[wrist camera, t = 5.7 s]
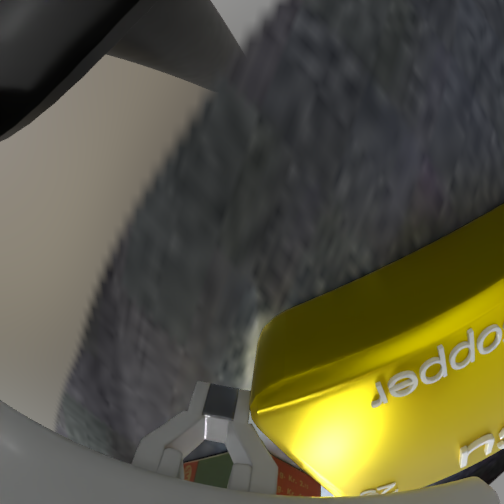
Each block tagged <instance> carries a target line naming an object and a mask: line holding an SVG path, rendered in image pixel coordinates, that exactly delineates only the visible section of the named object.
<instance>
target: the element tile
mask: <svg viewBox="0 0 504 504" xmlns="http://www.w3.org/2000/svg"><path fill="white" fill-rule="evenodd" d="M249 406H250V411H251V416H252V420H253V421H254V423H255V424H256V426H257V427H258V428H259V429H260V430H261V431H262V432H263V433H264V434H265V435H266V436H267V437H268V438H269V439H270V440H271V441H272V442H273V443H274V444H275V445H276V446H277V447H278V448H279V449H280V450H282V451H283V452H284V453H285V454H286V455H287V456H288V457H289V458H290V459H291V460H292V461H294V462H295V463H296V464H297V465H298V466H299V467H300V468H301V469H303V470H304V471H305V472H306V473H307V474H308V475H310V476H311V477H312V478H313V479H314V480H315V481H317V482H318V483H319V484H320V485H321V486H323V487H324V488H325V489H326V490H328V491H329V492H330V493H331V494H333V495H334V496H335V497H343V496H363V495H375V494H385V493H394V492H401V491H408V490H414V489H419V488H422V487H424V486H427V485H430V484H432V483H434V482H437V481H439V480H442V479H444V478H446V477H449V476H451V475H453V474H455V473H457V472H459V471H462V470H464V469H466V468H468V467H470V466H472V465H474V464H476V463H478V462H479V461H481V460H483V459H485V458H487V457H489V456H490V455H492V454H494V453H496V452H497V451H499V450H501V449H504V203H503V204H502V205H500V206H498V207H496V208H495V209H493V210H491V211H490V212H488V213H486V214H484V215H483V216H481V217H479V218H477V219H475V220H474V221H472V222H470V223H468V224H466V225H465V226H463V227H461V228H459V229H457V230H455V231H453V232H452V233H450V234H448V235H446V236H444V237H442V238H440V239H438V240H436V241H435V242H433V243H431V244H429V245H427V246H425V247H423V248H421V249H419V250H417V251H415V252H413V253H411V254H409V255H407V256H405V257H403V258H401V259H399V260H397V261H395V262H393V263H391V264H388V265H386V266H384V267H382V268H380V269H378V270H376V271H374V272H372V273H369V274H367V275H365V276H363V277H361V278H359V279H356V280H354V281H352V282H350V283H348V284H345V285H343V286H341V287H339V288H337V289H334V290H332V291H330V292H327V293H325V294H323V295H321V296H318V297H316V298H314V299H311V300H309V301H307V302H304V303H302V304H299V305H297V306H295V307H292V308H290V309H287V310H285V311H284V312H282V313H280V314H279V315H277V316H275V317H274V318H273V319H272V320H271V321H270V322H269V323H268V324H267V325H266V326H265V327H264V328H263V329H262V332H261V335H260V337H259V340H258V343H257V351H256V358H255V366H254V373H253V380H252V387H251V394H250V401H249Z"/></svg>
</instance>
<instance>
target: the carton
mask: <svg viewBox="0 0 504 504" xmlns="http://www.w3.org/2000/svg"><path fill="white" fill-rule="evenodd" d="M270 455H271V454H270ZM271 457H272V458H273V460H274V461H275V463H276V464H277V466H278V478H277V492H276V495H285V496H305V497H321V485H320V484H319V483H318V482H317V481H315V480H314V479H313V478H312V477H311V476H310V475H308V474H306V473H304V472H302V471H300V470H298V469H297V468H295V467H293V466H291V465H289V464H287V463H286V462H284V461H282V460H280V459H278V458H276V457H275V456H273V455H271ZM233 464H234V463H233V461H232V459H231V456H230V454H229V452H225V453H222V454H218V455H215V456H211V457H206V458H203V459H199V460H195V461H190V462H186V463H183V467H184V480H187V481H191V482H195V483H200V484H205V485H209V486H215V487H220V488H226V489H227V485H228V481H229V478H230V474H231V470H232V466H233Z"/></svg>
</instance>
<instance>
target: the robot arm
mask: <svg viewBox="0 0 504 504" xmlns="http://www.w3.org/2000/svg"><path fill="white" fill-rule="evenodd" d="M250 394H251V391H248V390H242V389H238V388H232V387H226V386H221V385H215V384H211V383H206V382H202V381H198V382H197V383H196V386H195V389H194V392H193V395H192V399H191V402H190V405H189V408H188V411H183V412H181V413H180V414H178V415H177V416H175V417H174V418H172V419H171V420H170V421H168V422H167V423H165V424H164V425H162V426H161V427H159V428H157V429H156V430H154V431H153V432H151V433H150V434H148V435H147V436H145V437H144V438H142V439H141V441H140V444H139V446H138V448H137V451H136V453H135V456H134V458H133V461H132V463H131V464H128V463H125V462H123V461H120V460H117V459H115V458H112V457H109V456H107V455H104V454H102V453H99V452H97V451H94V450H92V449H90V448H87V447H85V446H83V445H81V444H78V443H76V442H74V441H72V440H70V439H68V438H66V437H64V436H62V435H60V434H58V433H56V432H54V431H52V430H50V429H48V428H46V427H44V426H42V425H41V424H39V423H37V422H35V421H33V420H32V419H30V418H28V417H26V416H25V415H23V414H21V413H20V412H18V411H17V410H15V409H13V408H12V407H10V406H8V405H7V404H6V403H4V402H2V401H1V400H0V504H500V501H499V498H498V495H497V493H496V491H494V490H493V489H492V488H491V487H490V486H489V485H488V484H487V483H485V482H484V481H483V480H481V479H480V478H478V477H469V478H465V479H461V480H458V481H454V482H449V483H445V484H441V485H436V486H431V487H426V488H420V489H414V490H408V491H401V492H394V493H385V494H375V495H363V496H343V497H305V496H285V495H276V492H277V478H278V466H277V464H276V463H275V461H274V460H273V458H272V457H271V455H270V453H269V452H268V450H267V449H266V447H265V445H264V444H263V442H262V440H261V439H260V437H259V436H258V434H257V432H256V431H255V429H254V427H253V426H252V424H248V420H249V413H250V406H249V401H250ZM204 439H205V440H210V441H215V442H220V443H225V445H226V448H227V450H228V452H229V454H230V456H231V459H232V461H233V463H234V464H233V466H232V470H231V474H230V478H229V481H228V485H227V489H226V488H220V487H215V486H209V485H205V484H200V483H195V482H191V481H187V480H184V467H183V458H185V457H186V456H187V455H188V454H189V453H190V452H192V451H193V450H194V449H195V448H196V447H197V446H198V445H199V444H201V443H202V442H203V441H204Z"/></svg>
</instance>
